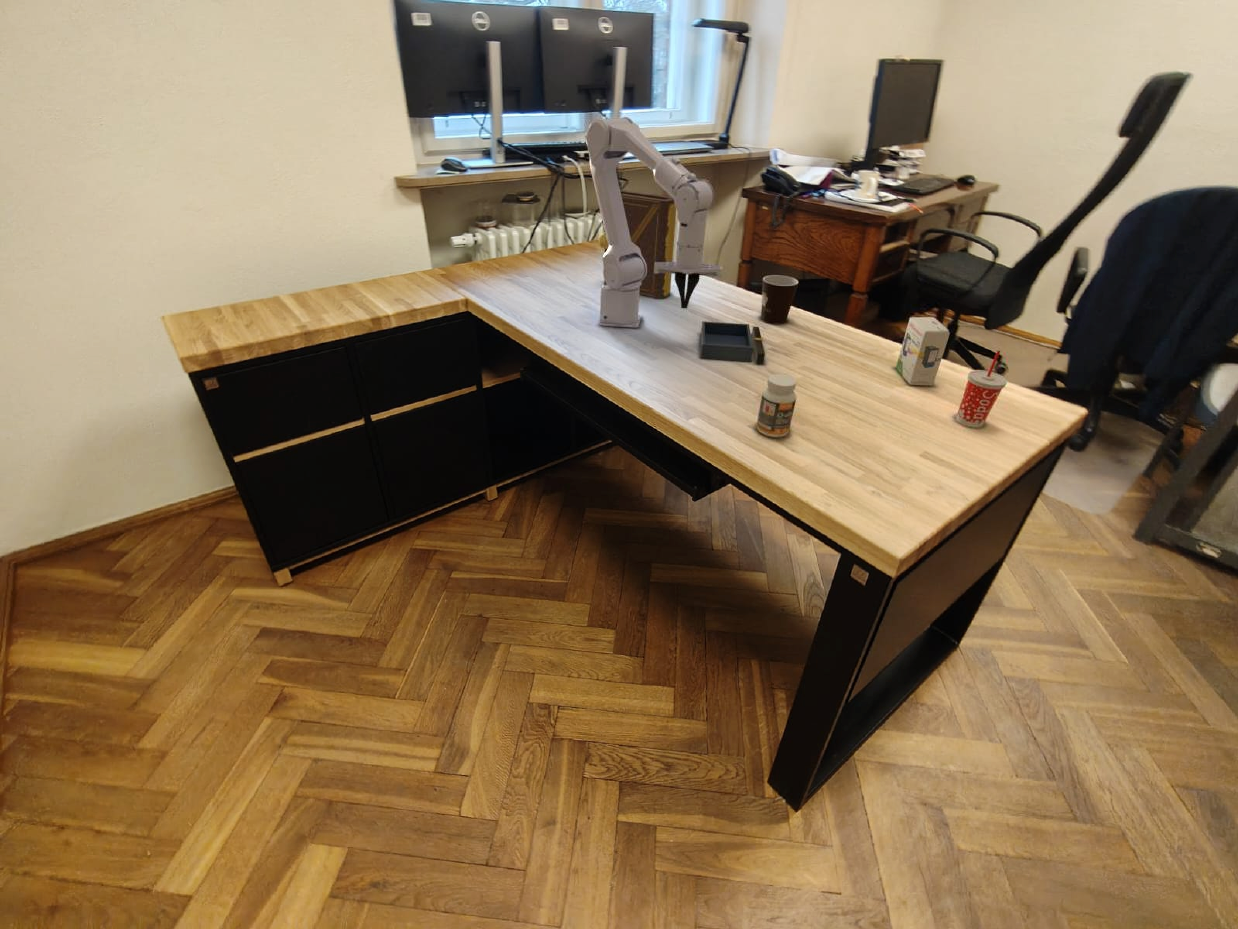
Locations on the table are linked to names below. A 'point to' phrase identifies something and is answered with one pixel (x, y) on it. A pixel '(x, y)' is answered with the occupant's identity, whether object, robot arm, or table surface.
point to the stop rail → (757, 345)
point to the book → (650, 236)
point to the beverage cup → (980, 396)
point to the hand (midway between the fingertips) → (684, 306)
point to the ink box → (922, 350)
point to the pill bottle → (777, 406)
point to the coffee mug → (777, 298)
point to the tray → (726, 341)
